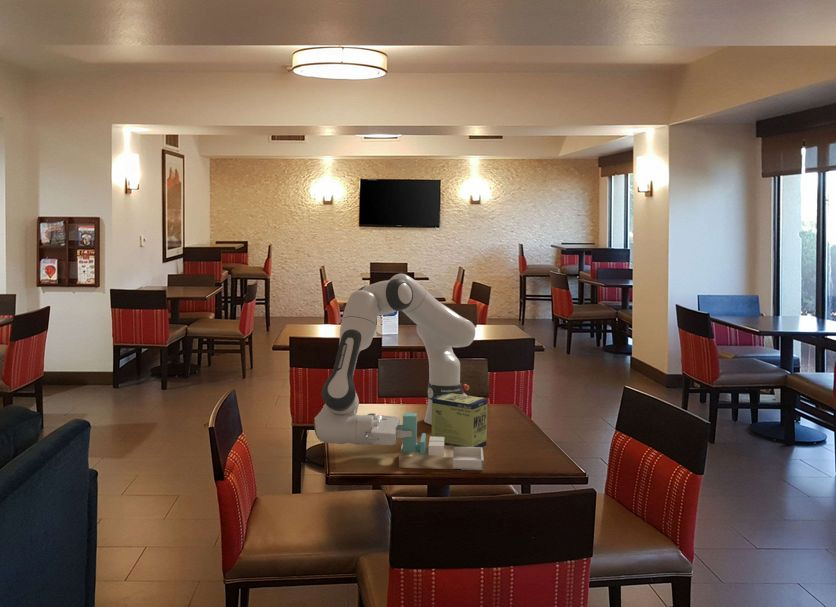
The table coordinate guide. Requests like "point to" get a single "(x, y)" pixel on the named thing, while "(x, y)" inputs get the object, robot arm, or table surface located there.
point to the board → (426, 459)
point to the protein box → (460, 420)
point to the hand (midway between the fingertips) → (412, 431)
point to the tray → (468, 458)
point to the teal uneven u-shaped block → (411, 442)
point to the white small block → (436, 448)
